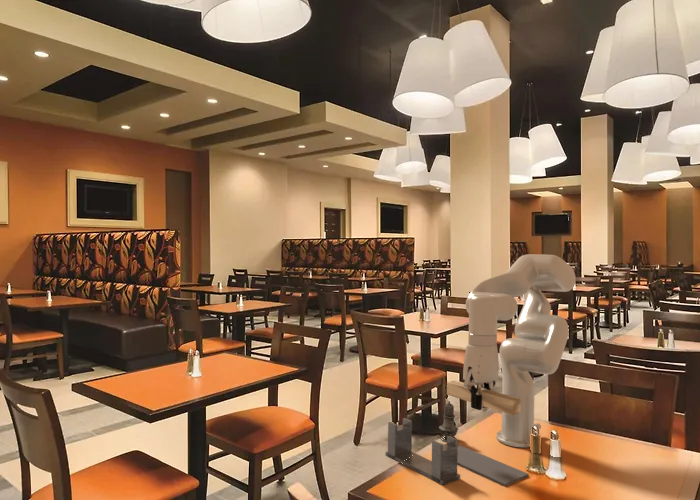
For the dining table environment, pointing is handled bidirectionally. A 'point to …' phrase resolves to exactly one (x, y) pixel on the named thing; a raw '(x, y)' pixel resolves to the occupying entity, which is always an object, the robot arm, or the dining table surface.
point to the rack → (437, 469)
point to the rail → (486, 398)
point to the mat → (488, 467)
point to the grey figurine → (448, 423)
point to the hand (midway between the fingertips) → (481, 406)
